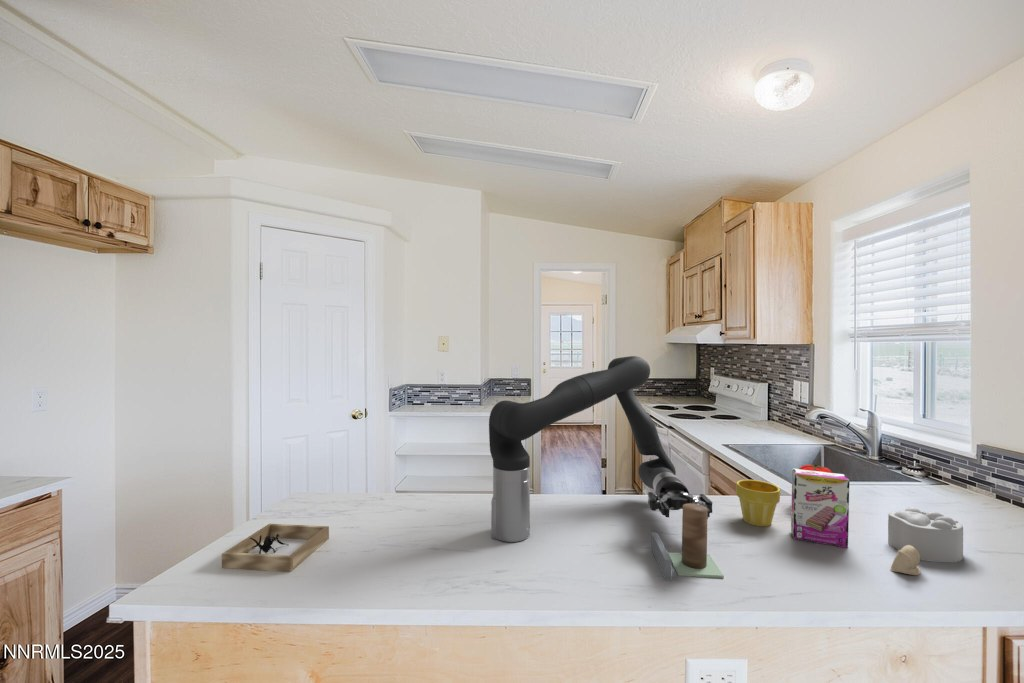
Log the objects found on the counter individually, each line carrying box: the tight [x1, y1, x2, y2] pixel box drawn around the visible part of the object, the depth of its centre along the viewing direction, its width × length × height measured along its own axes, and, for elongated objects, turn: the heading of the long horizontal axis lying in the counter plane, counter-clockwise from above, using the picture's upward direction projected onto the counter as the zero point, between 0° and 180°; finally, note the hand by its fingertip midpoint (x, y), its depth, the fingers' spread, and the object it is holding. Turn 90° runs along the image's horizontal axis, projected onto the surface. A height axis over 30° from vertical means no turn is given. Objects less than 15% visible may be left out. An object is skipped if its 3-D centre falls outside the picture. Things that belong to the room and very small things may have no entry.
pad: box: [667, 551, 725, 579], centre depth 96 cm, size 9×9×1 cm
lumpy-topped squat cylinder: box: [887, 506, 964, 563], centre depth 103 cm, size 10×13×9 cm
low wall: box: [651, 532, 672, 581], centre depth 97 cm, size 1×13×4 cm, turn 174°
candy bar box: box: [790, 468, 850, 549], centre depth 108 cm, size 11×5×16 cm, turn 65°
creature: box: [250, 530, 289, 554], centre depth 103 cm, size 8×5×8 cm
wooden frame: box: [221, 523, 330, 573], centre depth 102 cm, size 16×16×3 cm
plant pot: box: [735, 479, 781, 527], centre depth 119 cm, size 10×10×10 cm
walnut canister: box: [681, 503, 709, 569], centre depth 96 cm, size 5×5×12 cm
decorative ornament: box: [889, 545, 922, 576], centre depth 94 cm, size 4×8×5 cm, turn 123°
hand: (687, 514), depth 101 cm, fingers open, 8 cm apart
